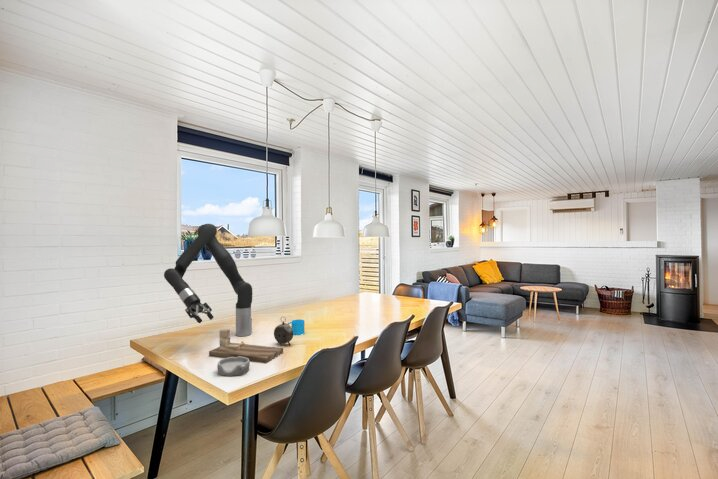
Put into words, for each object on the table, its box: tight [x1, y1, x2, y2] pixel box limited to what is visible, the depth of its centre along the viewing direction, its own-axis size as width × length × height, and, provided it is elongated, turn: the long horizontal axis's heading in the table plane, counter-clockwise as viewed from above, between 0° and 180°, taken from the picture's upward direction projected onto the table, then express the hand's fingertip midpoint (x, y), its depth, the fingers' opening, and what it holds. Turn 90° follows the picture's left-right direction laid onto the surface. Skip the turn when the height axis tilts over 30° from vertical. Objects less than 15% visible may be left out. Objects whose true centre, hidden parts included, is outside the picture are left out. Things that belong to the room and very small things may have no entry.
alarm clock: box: [273, 316, 294, 347], centre depth 198 cm, size 11×5×16 cm, turn 65°
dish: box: [217, 356, 251, 377], centre depth 159 cm, size 14×14×5 cm
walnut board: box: [208, 342, 284, 364], centre depth 182 cm, size 16×34×2 cm, turn 73°
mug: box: [287, 319, 305, 336], centre depth 222 cm, size 12×8×8 cm
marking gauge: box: [219, 328, 246, 351], centre depth 186 cm, size 10×10×10 cm
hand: (206, 320), depth 187 cm, fingers open, 8 cm apart
